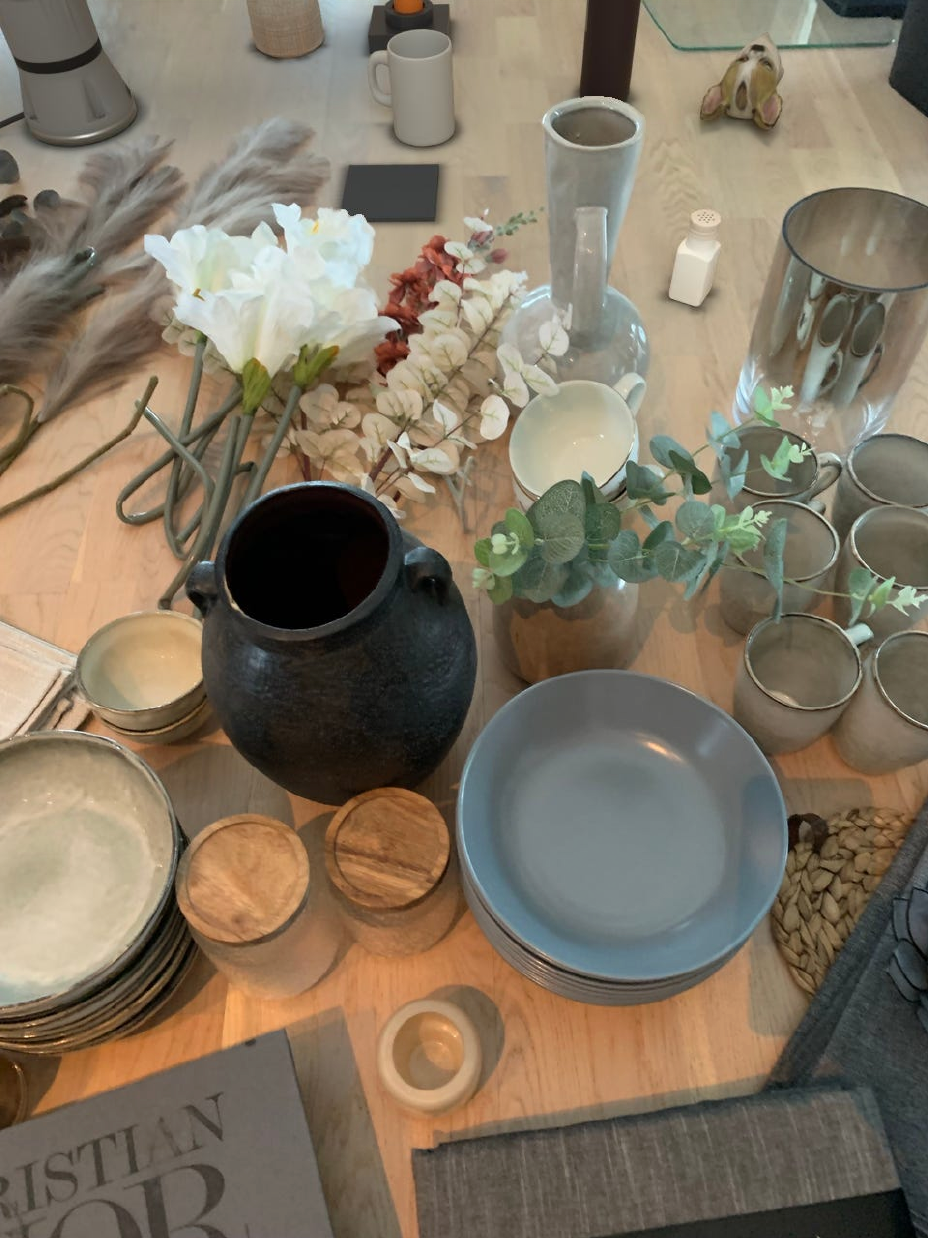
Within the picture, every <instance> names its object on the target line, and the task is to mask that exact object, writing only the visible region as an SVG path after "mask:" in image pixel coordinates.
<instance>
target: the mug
mask: <svg viewBox="0 0 928 1238" xmlns="http://www.w3.org/2000/svg"><path fill="white" fill-rule="evenodd" d="M378 65H383V66H386V67H387V68H388V76H389V84H390V93H388V92H387V93H386V92H383V91H382V90H381V88H380V87H379V83H378V80H377V72H376V71H377V70H376V69H377V66H378ZM367 80H368V87H369V90H370V93H371V95H372V98H373V99H374V101H375V103H378V104H380V105H381V106H383V107H387V108H391V109H392V111H391V112H392V120H393V121H392V123H393V131H394V135H395V136H396V138H397V139H398V140H399V141H400V142H402V143H403V144H405V145H409V146H412V147H423V148H424V147H433V146H438V145H440V144H444V143H445V142H447V141H448V140H450V139H451V138H452V137H453V136H454V134H455V131H456V113H455V110H456V109H455V95H454V94H455V93H454V92H455V90H454V87H455V86H454V63H453V45H452V40H451V38H450V36H449V37H448V36H446V35H445V34H443V33H441V32H438V31H434V30H427V29H418V30H410V31H406V32H402V33H400V34H398V35H396V36H394V37H393V38H392V39H391V40H390V41H389V42H388V45H387V51H386V50H383V51H376V52H374V53H373V54H370V57H369V59H368V62H367Z"/></svg>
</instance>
